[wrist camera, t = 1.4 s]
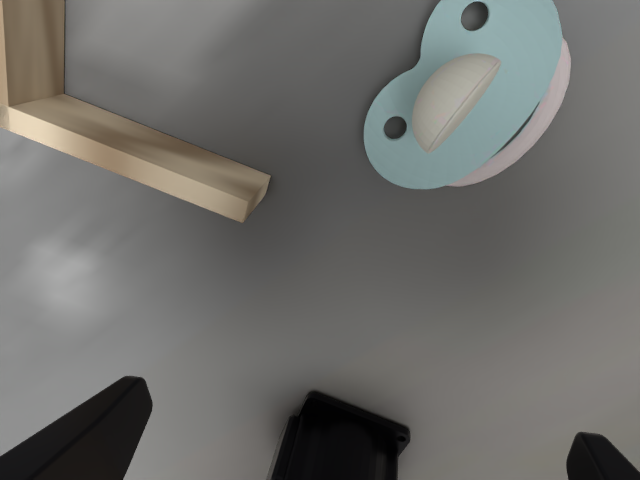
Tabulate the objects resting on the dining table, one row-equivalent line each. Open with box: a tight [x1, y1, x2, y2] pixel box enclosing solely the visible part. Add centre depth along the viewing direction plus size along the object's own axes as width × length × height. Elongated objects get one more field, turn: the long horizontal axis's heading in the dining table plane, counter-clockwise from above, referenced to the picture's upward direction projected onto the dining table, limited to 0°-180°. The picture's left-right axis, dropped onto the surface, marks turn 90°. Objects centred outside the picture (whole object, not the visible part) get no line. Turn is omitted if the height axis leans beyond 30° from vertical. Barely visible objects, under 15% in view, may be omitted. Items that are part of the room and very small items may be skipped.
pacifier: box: [364, 0, 571, 189], centre depth 13 cm, size 7×6×6 cm
